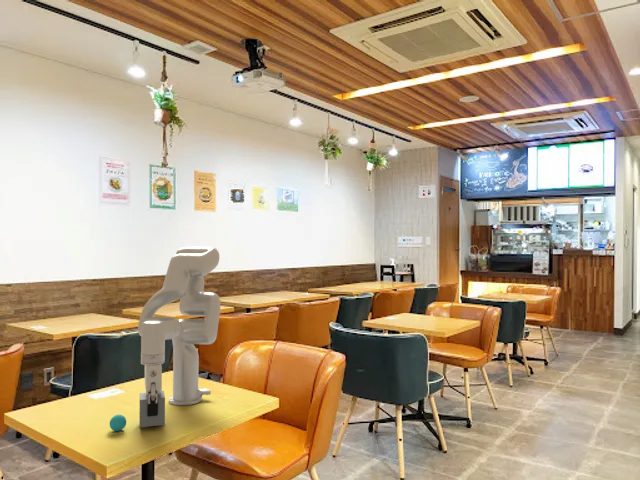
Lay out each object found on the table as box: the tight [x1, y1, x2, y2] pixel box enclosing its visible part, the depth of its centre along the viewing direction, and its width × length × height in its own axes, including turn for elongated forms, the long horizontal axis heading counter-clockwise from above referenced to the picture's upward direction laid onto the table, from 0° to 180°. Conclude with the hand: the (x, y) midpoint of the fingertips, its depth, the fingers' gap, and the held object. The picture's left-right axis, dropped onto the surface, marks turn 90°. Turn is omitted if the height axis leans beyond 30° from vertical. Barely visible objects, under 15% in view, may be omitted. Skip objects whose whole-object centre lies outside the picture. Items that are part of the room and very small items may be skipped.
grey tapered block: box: [138, 390, 166, 428], centre depth 163 cm, size 8×8×9 cm
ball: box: [109, 414, 127, 432], centre depth 158 cm, size 5×5×5 cm
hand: (152, 411), depth 163 cm, fingers closed on grey tapered block, 7 cm apart
